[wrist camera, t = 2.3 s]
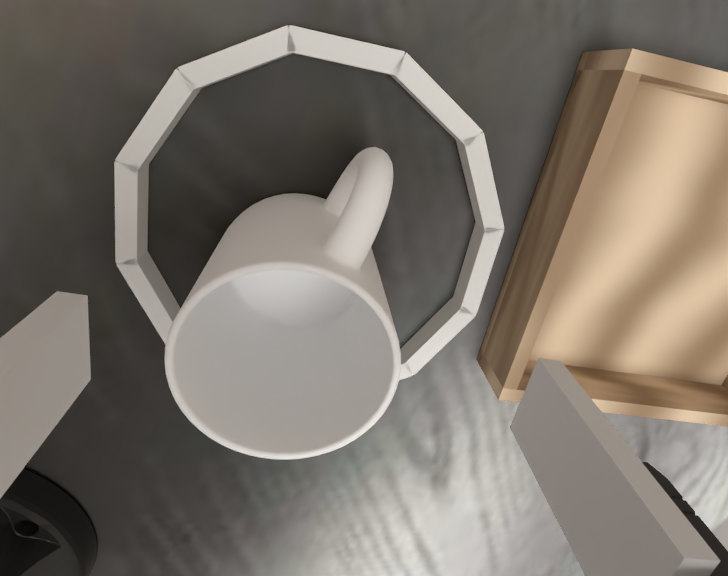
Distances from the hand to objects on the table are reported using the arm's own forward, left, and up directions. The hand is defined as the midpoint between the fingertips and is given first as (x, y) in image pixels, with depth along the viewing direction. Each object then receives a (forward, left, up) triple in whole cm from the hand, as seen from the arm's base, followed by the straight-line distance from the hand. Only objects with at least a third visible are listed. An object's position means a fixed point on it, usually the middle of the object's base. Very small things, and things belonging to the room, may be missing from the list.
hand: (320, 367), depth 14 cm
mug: (0, 0, -13) cm, 13 cm away
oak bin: (+20, +2, -13) cm, 23 cm away
